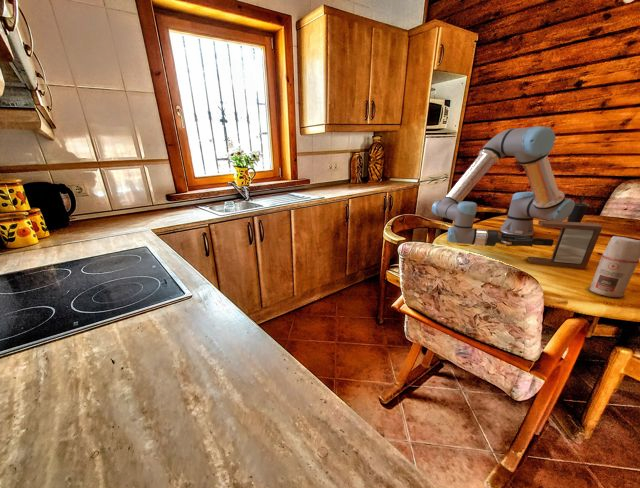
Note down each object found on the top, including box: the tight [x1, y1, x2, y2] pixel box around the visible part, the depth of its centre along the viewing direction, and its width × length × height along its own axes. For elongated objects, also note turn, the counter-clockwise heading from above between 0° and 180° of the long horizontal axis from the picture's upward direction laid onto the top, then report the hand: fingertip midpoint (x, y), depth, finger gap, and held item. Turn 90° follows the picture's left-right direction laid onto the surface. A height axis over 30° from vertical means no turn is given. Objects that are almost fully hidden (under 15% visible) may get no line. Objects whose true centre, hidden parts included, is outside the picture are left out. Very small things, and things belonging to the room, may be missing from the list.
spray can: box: [588, 235, 640, 298], centre depth 92 cm, size 8×8×20 cm
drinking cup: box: [566, 192, 590, 223], centre depth 158 cm, size 8×8×20 cm
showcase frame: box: [526, 219, 604, 270], centre depth 115 cm, size 5×18×18 cm, turn 64°
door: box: [550, 228, 565, 260], centre depth 114 cm, size 2×9×14 cm, turn 64°
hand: (552, 242), depth 117 cm, fingers closed
